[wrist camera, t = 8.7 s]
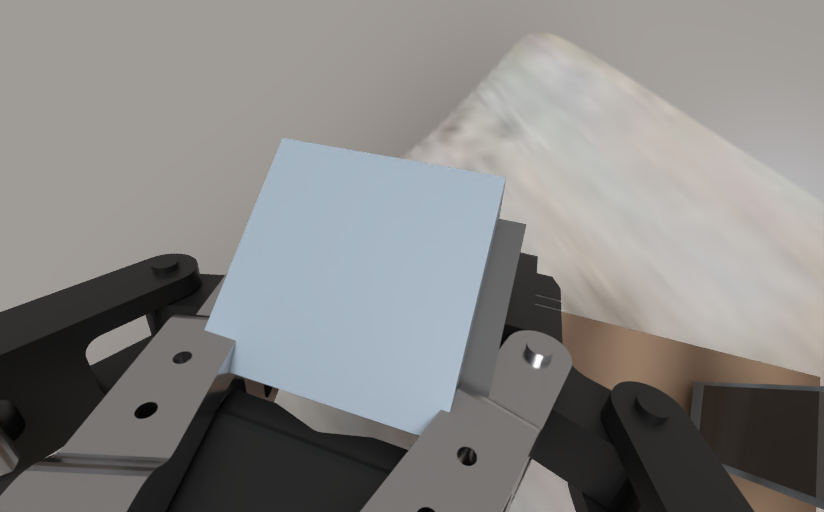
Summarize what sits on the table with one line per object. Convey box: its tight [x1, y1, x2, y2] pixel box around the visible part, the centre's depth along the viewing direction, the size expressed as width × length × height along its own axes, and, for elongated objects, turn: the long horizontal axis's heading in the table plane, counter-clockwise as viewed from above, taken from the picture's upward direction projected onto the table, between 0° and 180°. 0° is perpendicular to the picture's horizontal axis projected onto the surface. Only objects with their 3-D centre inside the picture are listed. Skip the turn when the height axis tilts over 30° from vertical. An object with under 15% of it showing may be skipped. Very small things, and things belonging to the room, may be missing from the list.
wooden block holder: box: [561, 312, 824, 512], centre depth 19 cm, size 24×8×12 cm, turn 74°
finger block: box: [205, 138, 526, 436], centre depth 11 cm, size 4×4×10 cm
